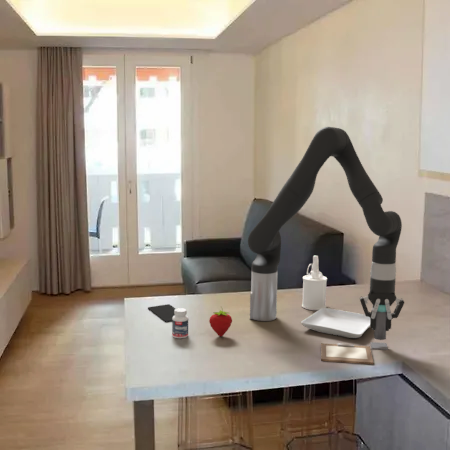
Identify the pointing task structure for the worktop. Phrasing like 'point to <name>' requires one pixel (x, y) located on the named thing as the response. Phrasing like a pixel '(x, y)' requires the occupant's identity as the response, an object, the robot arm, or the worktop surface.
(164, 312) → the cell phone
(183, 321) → the pill bottle
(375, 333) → the marker
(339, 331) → the salad plate
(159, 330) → the worktop surface
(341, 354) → the clipboard
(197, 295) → the worktop surface
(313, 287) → the white nozzle bottle
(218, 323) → the strawberry
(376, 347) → the coaster
